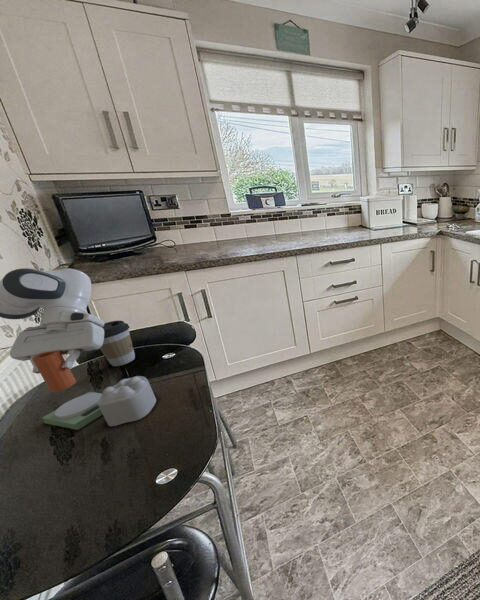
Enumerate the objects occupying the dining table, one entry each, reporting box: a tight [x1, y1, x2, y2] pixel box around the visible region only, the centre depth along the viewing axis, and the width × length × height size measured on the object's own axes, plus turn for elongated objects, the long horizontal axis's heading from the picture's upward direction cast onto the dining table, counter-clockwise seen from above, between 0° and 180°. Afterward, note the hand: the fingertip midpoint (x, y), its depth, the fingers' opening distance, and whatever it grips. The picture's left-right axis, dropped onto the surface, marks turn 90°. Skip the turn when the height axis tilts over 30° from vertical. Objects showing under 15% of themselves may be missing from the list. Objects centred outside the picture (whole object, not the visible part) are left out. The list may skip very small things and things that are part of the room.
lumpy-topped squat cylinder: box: [97, 375, 157, 427], centre depth 94 cm, size 10×13×9 cm
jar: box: [32, 350, 77, 393], centre depth 88 cm, size 5×5×10 cm
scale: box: [41, 391, 103, 431], centre depth 95 cm, size 14×12×3 cm
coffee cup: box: [99, 320, 136, 367], centre depth 121 cm, size 11×11×15 cm
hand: (52, 370), depth 87 cm, fingers closed on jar, 5 cm apart
